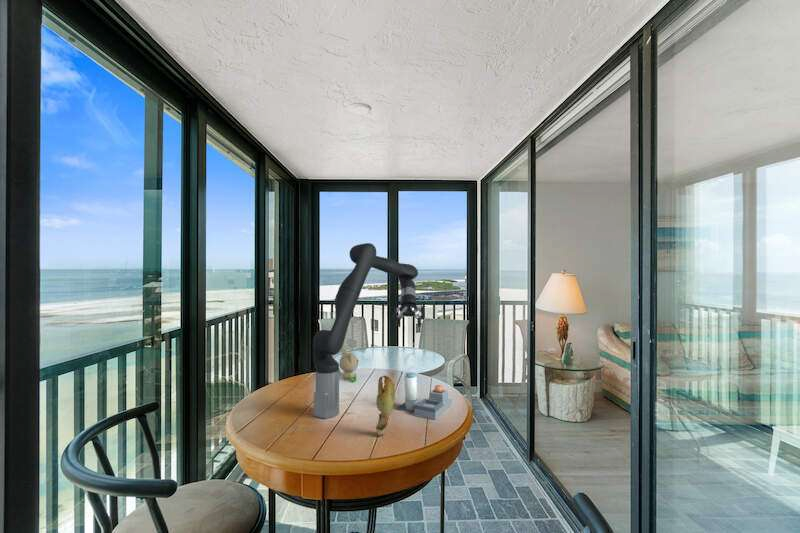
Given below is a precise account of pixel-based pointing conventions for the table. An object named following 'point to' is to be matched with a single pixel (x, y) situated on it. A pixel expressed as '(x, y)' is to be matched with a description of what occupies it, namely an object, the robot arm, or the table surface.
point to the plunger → (438, 389)
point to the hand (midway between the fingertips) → (409, 325)
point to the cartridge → (410, 391)
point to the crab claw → (384, 403)
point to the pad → (404, 408)
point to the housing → (433, 405)
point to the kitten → (348, 365)
